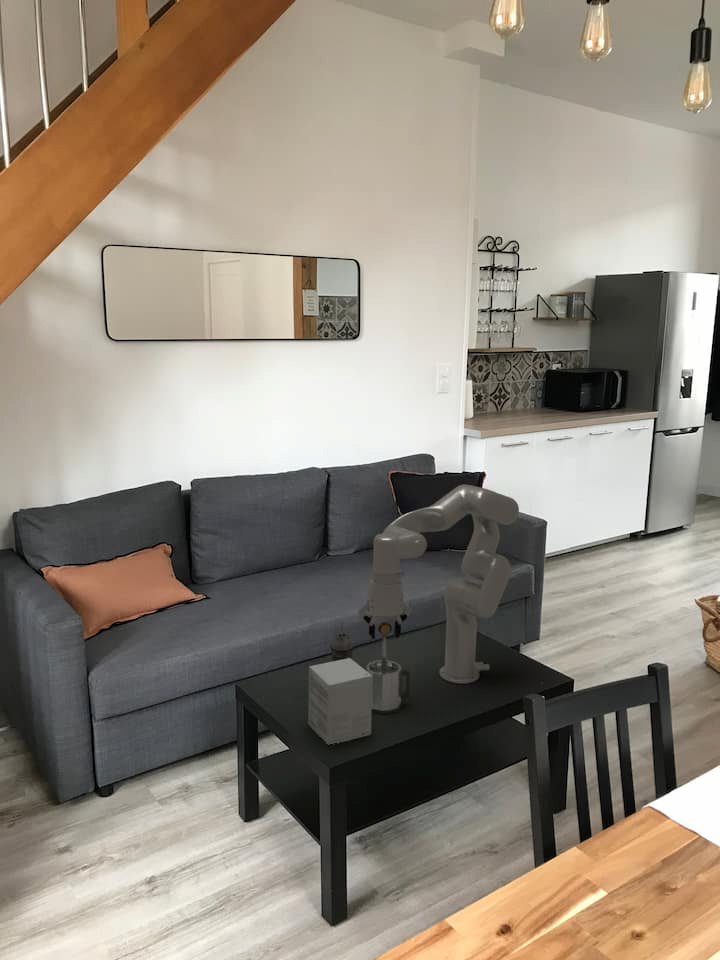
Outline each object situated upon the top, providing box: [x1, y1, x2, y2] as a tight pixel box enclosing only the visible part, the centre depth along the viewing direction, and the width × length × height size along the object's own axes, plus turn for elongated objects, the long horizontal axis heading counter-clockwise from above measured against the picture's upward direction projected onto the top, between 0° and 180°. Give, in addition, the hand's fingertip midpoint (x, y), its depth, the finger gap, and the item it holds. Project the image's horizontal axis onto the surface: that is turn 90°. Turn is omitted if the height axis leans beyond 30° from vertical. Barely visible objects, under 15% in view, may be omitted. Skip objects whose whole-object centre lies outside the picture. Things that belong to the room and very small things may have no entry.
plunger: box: [372, 620, 396, 674], centre depth 225 cm, size 8×8×16 cm
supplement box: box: [307, 658, 372, 746], centre depth 212 cm, size 13×13×18 cm
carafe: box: [365, 659, 411, 715], centre depth 227 cm, size 13×10×12 cm
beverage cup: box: [330, 621, 355, 662], centre depth 241 cm, size 7×7×20 cm
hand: (384, 636), depth 224 cm, fingers open, 6 cm apart
